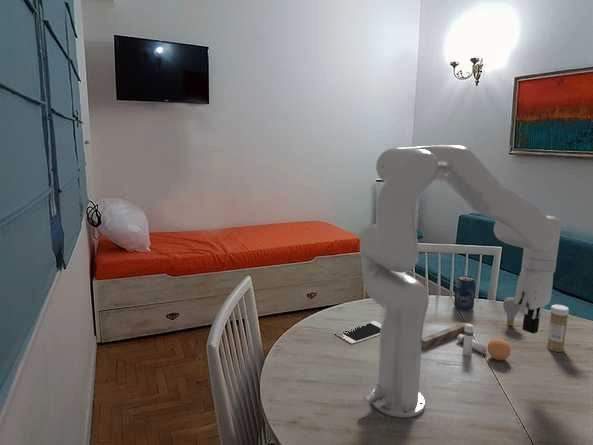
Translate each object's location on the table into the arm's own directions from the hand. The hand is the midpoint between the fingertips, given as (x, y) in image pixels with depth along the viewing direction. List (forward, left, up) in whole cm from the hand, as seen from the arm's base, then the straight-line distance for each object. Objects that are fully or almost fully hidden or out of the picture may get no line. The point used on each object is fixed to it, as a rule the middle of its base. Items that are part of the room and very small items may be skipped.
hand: (529, 331), depth 114 cm
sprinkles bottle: (+22, +3, -13) cm, 26 cm away
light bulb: (+27, +20, -13) cm, 36 cm away
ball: (+2, +9, -10) cm, 14 cm away
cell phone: (-18, +44, -13) cm, 49 cm away
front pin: (+2, +13, -12) cm, 18 cm away
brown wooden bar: (0, +26, -13) cm, 29 cm away
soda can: (+27, +38, -13) cm, 49 cm away
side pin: (-3, +16, -13) cm, 20 cm away
